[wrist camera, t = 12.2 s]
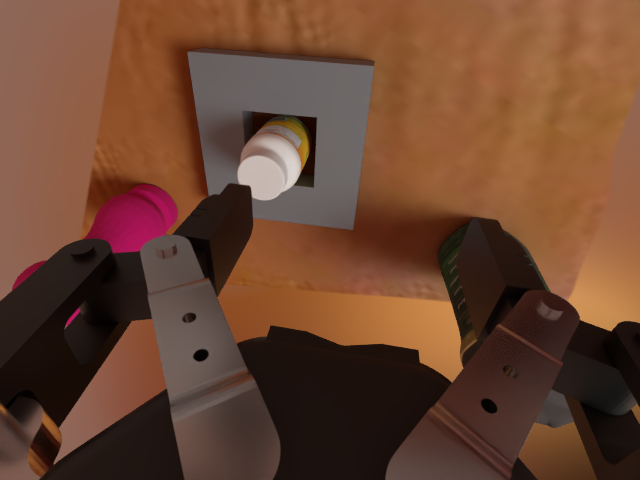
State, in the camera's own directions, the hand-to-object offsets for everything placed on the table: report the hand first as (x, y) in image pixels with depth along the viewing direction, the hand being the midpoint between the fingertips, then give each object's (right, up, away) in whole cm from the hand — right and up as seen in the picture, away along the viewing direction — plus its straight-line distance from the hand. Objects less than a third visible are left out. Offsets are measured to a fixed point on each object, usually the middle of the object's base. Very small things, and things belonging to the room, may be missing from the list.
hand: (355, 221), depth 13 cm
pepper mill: (-22, +4, +30) cm, 38 cm away
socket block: (-5, +10, +23) cm, 26 cm away
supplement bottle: (-5, +10, +23) cm, 26 cm away
